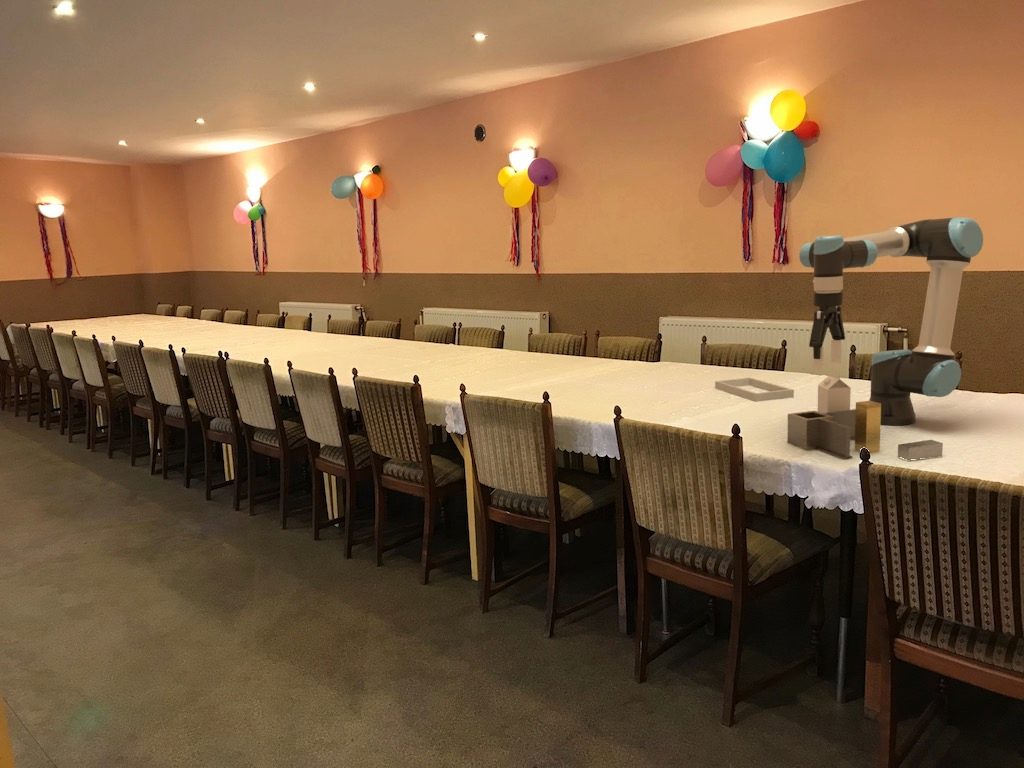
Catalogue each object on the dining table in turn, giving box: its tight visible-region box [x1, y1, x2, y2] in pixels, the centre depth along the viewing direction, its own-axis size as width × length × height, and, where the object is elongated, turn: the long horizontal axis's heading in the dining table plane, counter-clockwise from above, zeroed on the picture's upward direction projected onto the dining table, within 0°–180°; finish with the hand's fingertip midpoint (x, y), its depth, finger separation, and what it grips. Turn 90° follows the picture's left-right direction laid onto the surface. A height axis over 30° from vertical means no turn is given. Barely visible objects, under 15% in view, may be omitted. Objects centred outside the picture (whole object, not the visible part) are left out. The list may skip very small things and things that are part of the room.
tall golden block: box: [854, 400, 881, 454], centre depth 213 cm, size 5×5×14 cm
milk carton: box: [817, 371, 852, 413], centre depth 233 cm, size 7×7×19 cm
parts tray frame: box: [714, 377, 795, 403], centre depth 300 cm, size 16×30×3 cm, turn 14°
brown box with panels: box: [787, 408, 856, 461], centre depth 219 cm, size 21×21×9 cm
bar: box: [897, 439, 943, 460], centre depth 206 cm, size 11×4×4 cm, turn 105°
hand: (827, 366), depth 214 cm, fingers open, 13 cm apart
